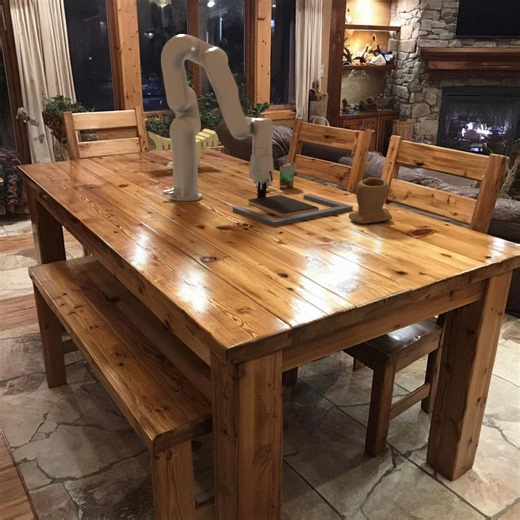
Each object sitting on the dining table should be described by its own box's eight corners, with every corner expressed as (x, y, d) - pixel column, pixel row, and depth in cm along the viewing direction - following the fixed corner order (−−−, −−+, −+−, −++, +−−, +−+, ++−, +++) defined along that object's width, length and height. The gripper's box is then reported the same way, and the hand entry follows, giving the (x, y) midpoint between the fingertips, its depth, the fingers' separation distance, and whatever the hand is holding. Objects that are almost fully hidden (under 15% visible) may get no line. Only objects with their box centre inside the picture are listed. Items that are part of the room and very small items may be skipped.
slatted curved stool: (160, 172, 269) (158, 135, 263) (150, 167, 282) (148, 131, 276) (217, 168, 282) (217, 132, 276) (206, 162, 295) (205, 128, 289)
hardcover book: (283, 219, 196) (283, 212, 195) (247, 205, 214) (247, 199, 213) (318, 212, 204) (318, 206, 204) (281, 200, 222) (281, 194, 221)
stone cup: (361, 228, 184) (364, 183, 179) (344, 219, 195) (346, 176, 190) (400, 224, 189) (405, 180, 184) (381, 215, 200) (385, 173, 195)
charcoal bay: (273, 226, 185) (273, 222, 184) (232, 211, 203) (232, 207, 202) (352, 210, 206) (352, 206, 206) (309, 197, 224) (309, 193, 223)
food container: (293, 190, 235) (294, 167, 232) (279, 189, 237) (279, 166, 233) (297, 184, 247) (298, 161, 243) (283, 183, 248) (284, 161, 245)
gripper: (242, 149, 216) (242, 196, 222) (266, 155, 205) (265, 204, 211) (258, 148, 220) (257, 193, 226) (282, 153, 209) (281, 201, 215)
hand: (261, 198), depth 218 cm, fingers closed
